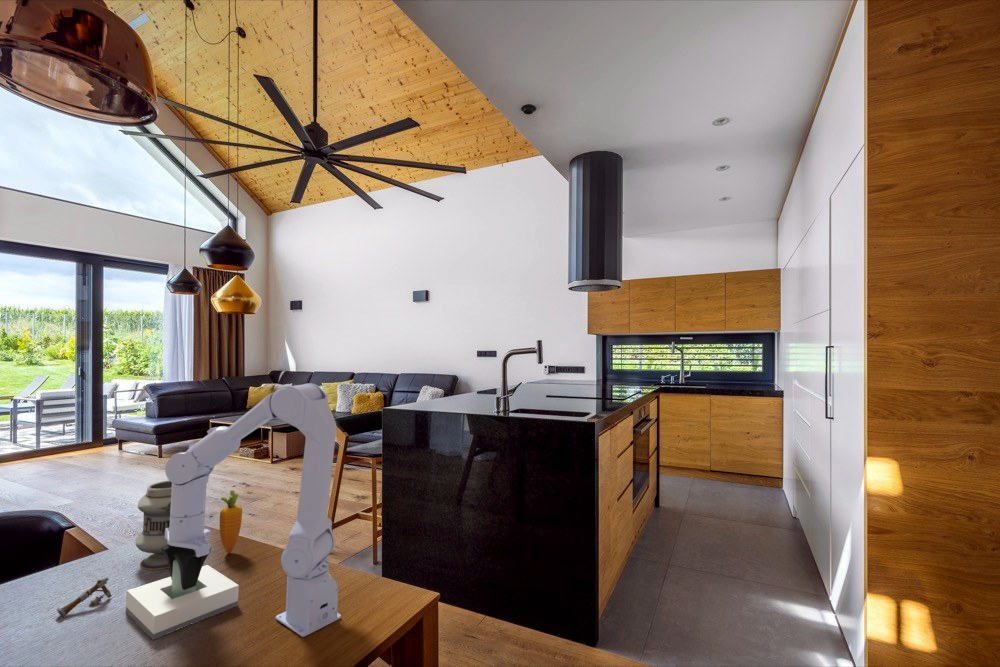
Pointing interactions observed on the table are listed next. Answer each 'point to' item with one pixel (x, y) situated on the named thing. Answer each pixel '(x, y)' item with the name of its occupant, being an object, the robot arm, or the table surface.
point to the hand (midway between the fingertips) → (184, 584)
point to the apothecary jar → (155, 524)
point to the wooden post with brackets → (85, 595)
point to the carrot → (230, 522)
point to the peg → (178, 583)
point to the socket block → (180, 602)
